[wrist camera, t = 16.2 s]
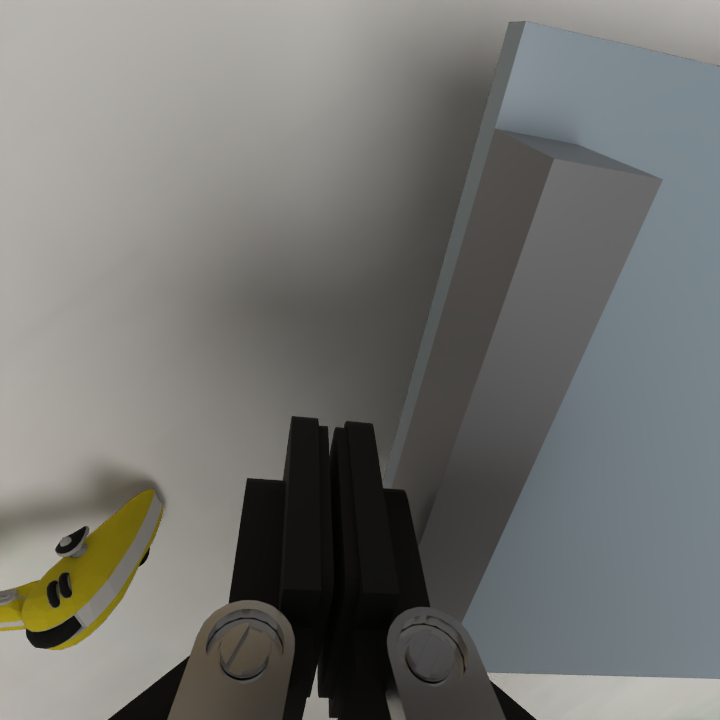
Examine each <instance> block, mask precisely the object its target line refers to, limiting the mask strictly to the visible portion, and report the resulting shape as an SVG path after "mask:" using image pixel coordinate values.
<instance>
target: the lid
mask: <svg viewBox="0 0 720 720" xmlns="http://www.w3.org/2000/svg"><path fill="white" fill-rule="evenodd" d="M382 484H383V488H389V489H402V490H405V492H406V494H407V497H408V501H409V506H410V511H411V516H412V521H413V525H414V530H415V535H416V540H417V545H418V549H419V554H420V559H421V564H422V569H423V574H424V578H425V583H426V588H427V593H428V598H429V602H430V607H431V608H434V609H437V610H440V611H443V612H445V613H447V614H449V615H450V616H452V617H453V618H455V619H456V620H457V621H458V622H459V623H460V624H461V625H462V626H463V627H464V628H465V629H466V630H467V631H468V633H469V635H470V636H471V638H472V640H473V642H474V643H475V646H476V648H477V651H478V653H479V655H480V658H481V660H482V663H483V665H484V667H485V670H486V672H489V673H526V674H563V675H599V676H636V677H673V678H710V679H720V66H716V65H712V64H708V63H703V62H699V61H695V60H691V59H686V58H682V57H678V56H673V55H669V54H665V53H660V52H656V51H652V50H648V49H643V48H639V47H635V46H630V45H626V44H622V43H617V42H613V41H609V40H605V39H600V38H596V37H592V36H587V35H583V34H579V33H575V32H570V31H566V30H562V29H557V28H553V27H549V26H544V25H540V24H536V23H532V22H527V21H521V22H509V24H508V28H507V32H506V35H505V39H504V42H503V46H502V50H501V53H500V57H499V61H498V64H497V68H496V72H495V75H494V79H493V82H492V86H491V90H490V93H489V97H488V101H487V104H486V108H485V112H484V115H483V119H482V122H481V126H480V130H479V133H478V137H477V141H476V144H475V148H474V152H473V155H472V159H471V163H470V166H469V170H468V173H467V177H466V181H465V184H464V188H463V192H462V195H461V199H460V203H459V206H458V210H457V213H456V217H455V221H454V224H453V228H452V232H451V235H450V239H449V243H448V246H447V250H446V253H445V257H444V261H443V264H442V268H441V272H440V275H439V279H438V283H437V286H436V290H435V294H434V297H433V301H432V304H431V308H430V312H429V315H428V319H427V323H426V326H425V330H424V334H423V337H422V341H421V344H420V348H419V352H418V355H417V359H416V363H415V366H414V370H413V374H412V377H411V381H410V384H409V388H408V392H407V395H406V399H405V403H404V406H403V410H402V414H401V417H400V421H399V425H398V428H397V432H396V435H395V439H394V443H393V446H392V450H391V454H390V457H389V461H388V465H387V468H386V472H385V475H384V479H383V483H382Z"/></svg>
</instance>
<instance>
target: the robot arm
mask: <svg viewBox="0 0 720 720" xmlns="http://www.w3.org/2000/svg"><path fill="white" fill-rule="evenodd" d="M317 664H318V696H319V698H329V718H338V720H536V719H535V718H534V717H533V716H532V715H530V714H529V713H528V712H527V711H526V710H525V709H523V708H522V707H521V706H520V705H519V704H517V703H516V702H515V701H514V700H513V699H512V698H510V697H509V696H508V695H507V694H506V693H504V692H503V691H502V690H501V689H500V688H499V687H497V686H496V685H495V684H494V683H493V682H491V681H490V680H489V677H488V675H487V672H486V670H485V667H484V665H483V663H482V660H481V658H480V655H479V653H478V651H477V648H476V646H475V643H474V642H473V640H472V638H471V636H470V635H469V633H468V631H467V630H466V629H465V628H464V627H463V626H462V625H461V624H460V623H459V622H458V621H457V620H456V619H455V618H453V617H452V616H450V615H449V614H447V613H445V612H443V611H440V610H437V609H434V608H431V607H430V602H429V598H428V593H427V588H426V583H425V578H424V574H423V569H422V564H421V559H420V554H419V549H418V545H417V540H416V535H415V530H414V525H413V521H412V516H411V511H410V506H409V501H408V497H407V494H406V492H405V490H402V489H389V488H383V484H382V478H381V471H380V465H379V459H378V452H377V446H376V440H375V433H374V427H373V424H372V423H361V422H350V421H346V422H345V425H344V428H339V427H335V430H334V434H333V440H332V445H331V450H330V456H329V438H328V426H319V422H318V418H307V417H296V416H292V418H291V424H290V432H289V439H288V446H287V454H286V461H285V469H284V476H283V481H280V480H266V479H253V478H247V482H246V489H245V496H244V502H243V509H242V516H241V523H240V530H239V536H238V543H237V550H236V557H235V564H234V570H233V577H232V584H231V591H230V597H229V604H227V605H225V606H223V607H222V608H220V609H218V610H216V611H215V612H214V613H213V614H212V615H211V616H210V617H209V618H208V619H207V620H206V621H205V622H204V624H203V626H202V627H201V629H200V631H199V633H198V635H197V637H196V640H195V643H194V646H193V649H192V651H191V654H190V656H189V657H187V658H186V659H185V660H184V661H182V662H181V663H180V664H178V665H177V666H176V667H175V668H173V669H172V670H171V671H169V672H168V673H167V674H166V675H164V676H163V677H162V678H161V679H159V680H158V681H157V682H155V683H154V684H153V685H152V686H150V687H149V688H148V689H146V690H145V691H144V692H143V693H141V694H140V695H139V696H138V697H136V698H135V699H134V700H132V701H131V702H130V703H129V704H127V705H126V706H125V707H123V708H122V709H121V710H120V711H118V712H117V713H116V714H115V715H113V716H112V717H111V718H109V719H108V720H302V717H303V712H304V708H305V703H306V699H307V697H310V694H311V690H312V685H313V681H314V677H315V672H316V668H317Z"/></svg>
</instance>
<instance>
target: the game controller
mask: <svg viewBox="0 0 720 720" xmlns="http://www.w3.org/2000/svg"><path fill="white" fill-rule="evenodd" d="M162 512H163V507H162V504H161V502H160V501H159V499H158V497H157V495H156V493H155V491H154V490H153V489H149V490H146V491H143V492H141V493H139V494H138V495H137V496H135V497H134V498H132V499H131V500H130V501H129V502H127V503H126V504H125V505H124V506H123V507H122V508H121V509H120V510H119V511H118V512H116V513H115V514H114V515H113V516H112V517H110V518H109V519H108V520H107V521H105V522H104V523H103V524H102V525H101V526H100V527H98V528H97V529H96V530H95V531H94V532H93V533H91V534H90V535H89V536H88V537H87V535H88V533H89V527H88V526H85V527H83V528H81V529H80V530H78V531H76V532H74V533H73V534H71V535H68V536H66V537H64V538H62V540H61V541H60V542H59V544H58V545H57V547H56V549H55V551H56V553H57V554H58V555H59V556H63V557H64V558H62V559H61V560H60V561H59V562H58V563H57V564H56V565H54V566H53V567H52V568H51V569H50V570H49V571H48V572H47V573H46V574H45V575H44V576H43V578H42V579H41V580H38V581H34V582H31V583H28V584H26V585H23V586H20V587H17V588H13V589H9V590H5V591H0V631H8V630H20V629H26V635H27V638H28V640H29V641H30V643H31V644H32V645H33V646H34V647H36V648H44V649H50V650H62V649H65V648H68V647H70V646H73V645H76V644H77V643H79V642H80V641H82V640H83V639H85V638H86V637H88V636H89V635H90V634H91V633H92V632H93V631H95V630H96V629H97V628H98V627H99V626H100V625H101V624H102V623H103V622H104V621H105V620H106V619H107V617H108V616H109V615H110V614H111V612H112V611H113V610H114V609H115V607H116V606H117V605H118V603H119V602H120V601H121V600H122V598H123V596H124V594H125V593H126V591H127V589H128V587H129V585H130V583H131V581H132V579H133V577H134V575H135V573H136V571H137V569H138V567H139V566H141V565H142V564H143V563H144V562H145V561H146V559H147V558H148V555H149V550H150V545H151V544H152V542H153V540H154V538H155V535H156V532H157V529H158V527H159V524H160V521H161V518H162ZM86 537H87V538H86Z"/></svg>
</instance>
